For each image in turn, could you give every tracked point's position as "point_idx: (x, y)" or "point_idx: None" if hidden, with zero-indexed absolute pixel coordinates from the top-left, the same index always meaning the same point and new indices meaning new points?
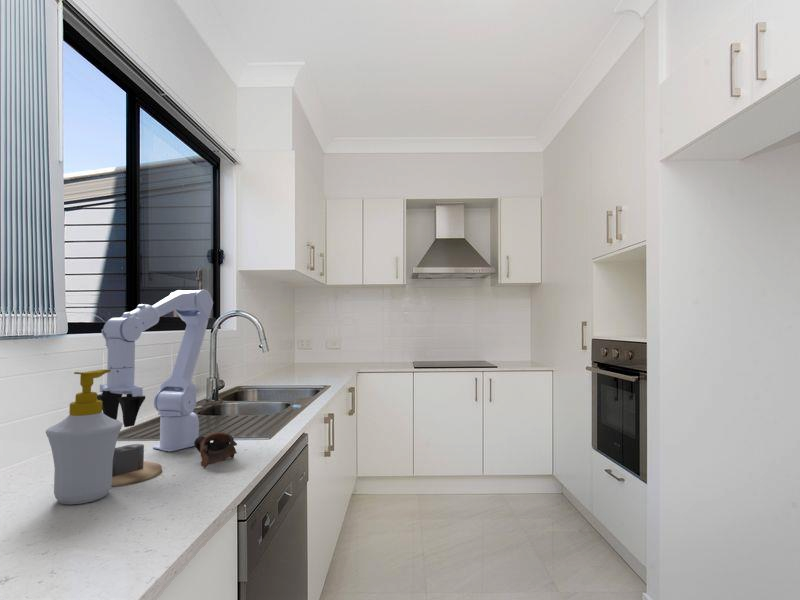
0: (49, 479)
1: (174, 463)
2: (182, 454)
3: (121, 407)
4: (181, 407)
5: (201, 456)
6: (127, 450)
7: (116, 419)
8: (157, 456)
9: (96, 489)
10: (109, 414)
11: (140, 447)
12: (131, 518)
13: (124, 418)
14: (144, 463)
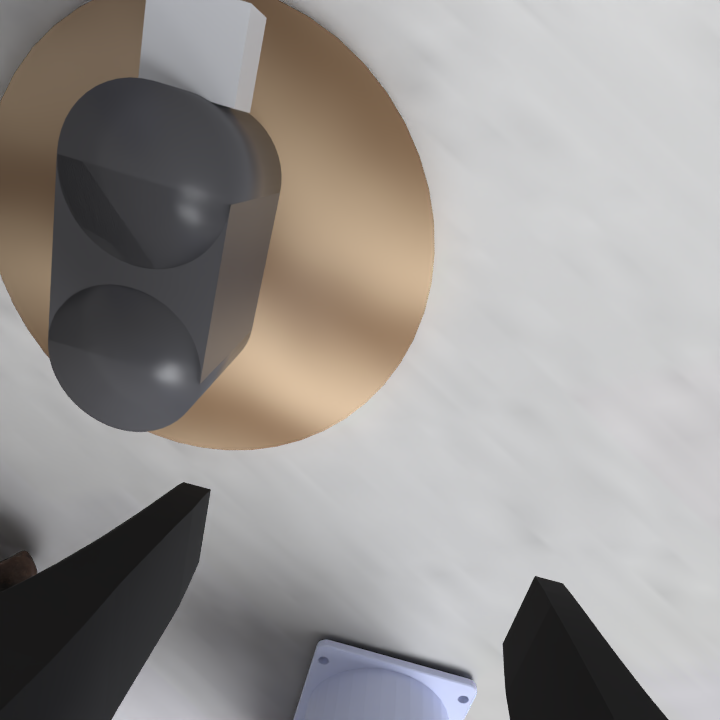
0: (602, 15)
1: (135, 489)
2: (233, 618)
3: (52, 645)
4: None
5: (19, 555)
6: (52, 252)
7: (504, 673)
8: (328, 571)
9: None
10: (557, 687)
11: (51, 355)
12: None
13: (125, 528)
14: (219, 412)
